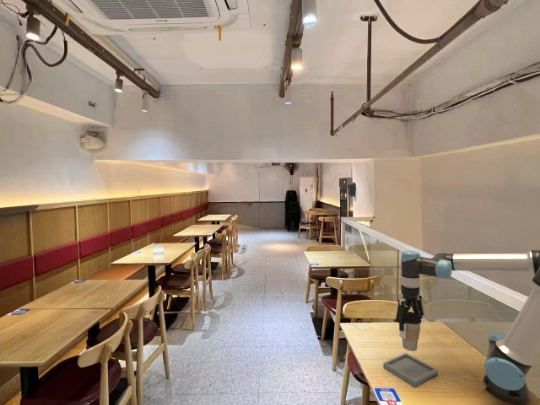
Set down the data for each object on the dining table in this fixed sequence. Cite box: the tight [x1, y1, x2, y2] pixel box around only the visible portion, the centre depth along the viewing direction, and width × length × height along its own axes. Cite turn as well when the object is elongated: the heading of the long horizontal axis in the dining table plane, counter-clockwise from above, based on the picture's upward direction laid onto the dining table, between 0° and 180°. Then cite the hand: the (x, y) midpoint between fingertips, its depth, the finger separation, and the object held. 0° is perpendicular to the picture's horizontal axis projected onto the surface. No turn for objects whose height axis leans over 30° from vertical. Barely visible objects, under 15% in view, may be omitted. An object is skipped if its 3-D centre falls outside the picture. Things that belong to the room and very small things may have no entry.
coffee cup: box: [401, 311, 422, 352], centre depth 134 cm, size 9×9×15 cm
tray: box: [382, 352, 439, 388], centre depth 135 cm, size 16×16×2 cm
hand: (409, 334), depth 134 cm, fingers closed on coffee cup, 9 cm apart
